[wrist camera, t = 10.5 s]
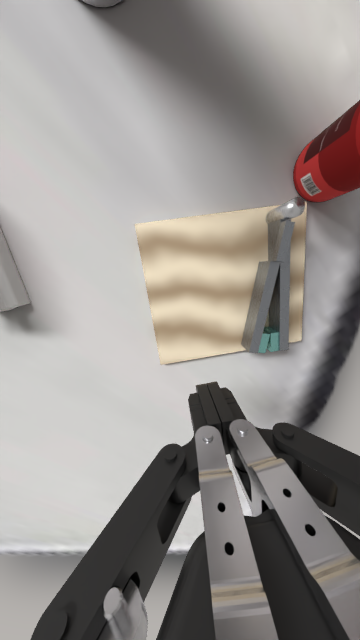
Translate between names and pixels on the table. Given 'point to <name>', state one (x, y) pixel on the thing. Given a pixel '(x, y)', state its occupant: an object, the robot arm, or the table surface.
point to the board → (211, 279)
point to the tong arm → (265, 293)
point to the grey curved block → (10, 280)
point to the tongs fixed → (280, 276)
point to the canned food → (331, 160)
